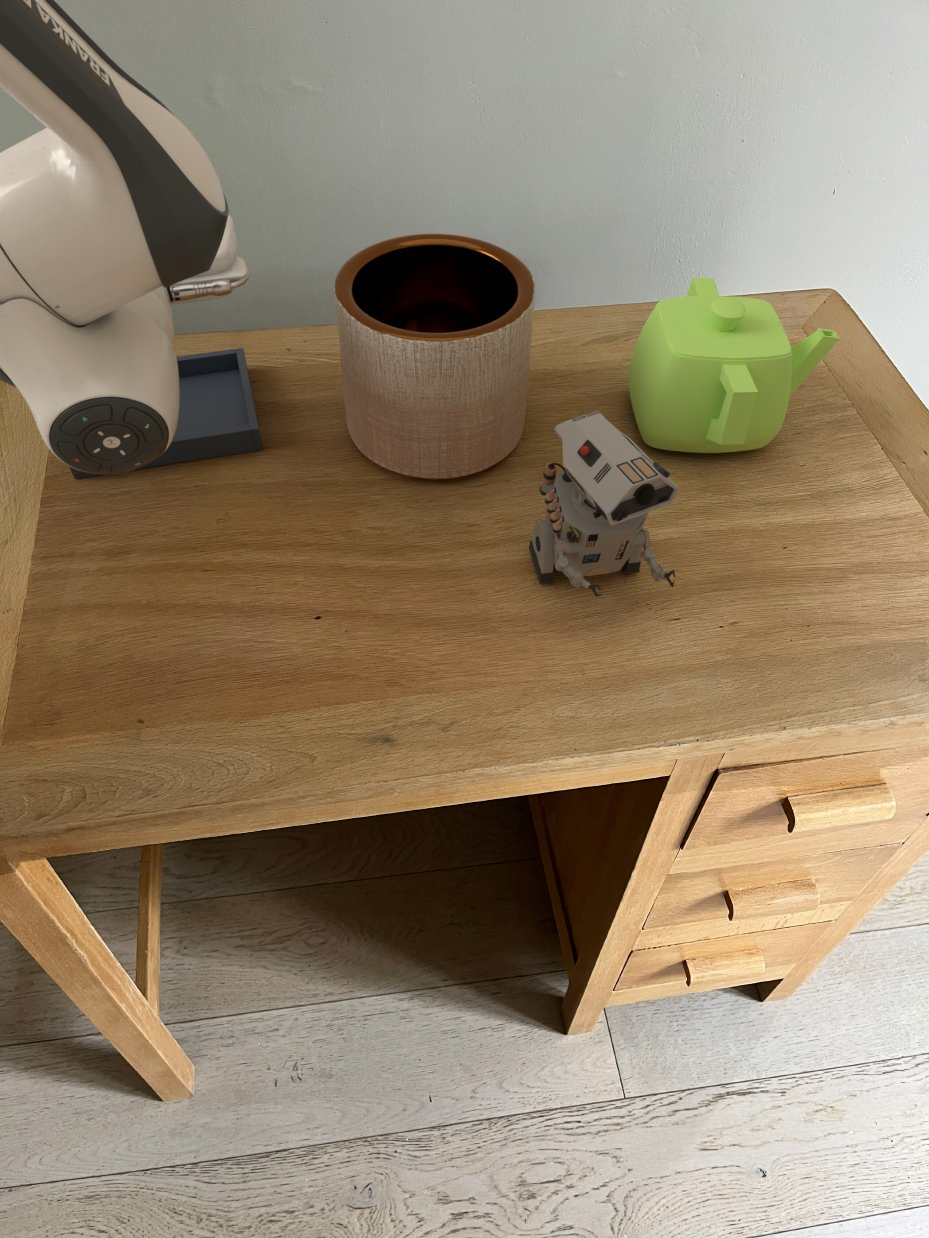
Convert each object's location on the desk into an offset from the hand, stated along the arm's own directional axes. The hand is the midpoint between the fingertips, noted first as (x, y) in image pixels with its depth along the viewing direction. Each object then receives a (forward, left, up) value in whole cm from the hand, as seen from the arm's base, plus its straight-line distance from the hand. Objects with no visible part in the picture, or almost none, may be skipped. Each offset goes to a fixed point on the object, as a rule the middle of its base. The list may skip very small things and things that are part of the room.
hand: (105, 216), depth 71 cm
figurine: (+34, -31, -20) cm, 51 cm away
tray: (0, -1, -20) cm, 20 cm away
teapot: (+54, -14, -20) cm, 59 cm away
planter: (+26, -8, -20) cm, 34 cm away
